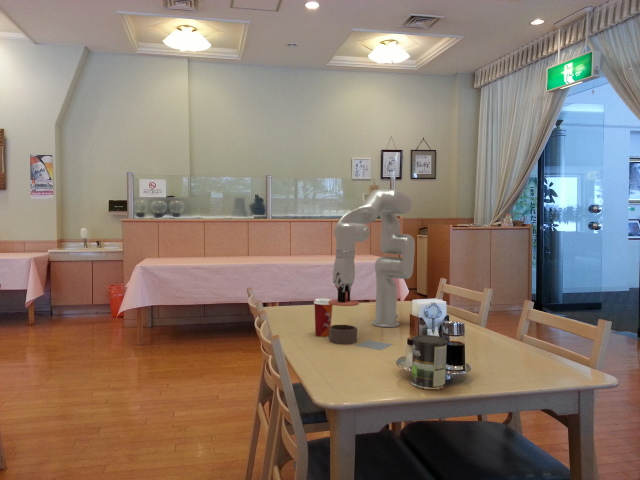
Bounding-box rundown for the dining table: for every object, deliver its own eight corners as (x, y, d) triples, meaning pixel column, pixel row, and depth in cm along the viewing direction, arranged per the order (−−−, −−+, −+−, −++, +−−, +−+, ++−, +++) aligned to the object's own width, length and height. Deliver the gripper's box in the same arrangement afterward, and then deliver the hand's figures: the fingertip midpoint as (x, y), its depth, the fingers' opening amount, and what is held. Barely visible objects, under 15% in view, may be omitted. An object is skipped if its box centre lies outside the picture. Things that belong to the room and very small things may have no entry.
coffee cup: (330, 338, 222) (331, 301, 221) (310, 336, 224) (311, 300, 223) (334, 333, 230) (335, 298, 229) (315, 332, 232) (316, 297, 231)
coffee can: (416, 390, 159) (417, 342, 158) (407, 379, 169) (409, 334, 169) (450, 390, 160) (452, 343, 159) (439, 379, 170) (441, 335, 170)
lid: (338, 300, 222) (338, 288, 222) (364, 303, 216) (364, 291, 216) (322, 303, 212) (323, 291, 212) (349, 307, 206) (350, 294, 206)
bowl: (337, 338, 222) (338, 323, 222) (360, 341, 217) (360, 327, 216) (324, 342, 213) (325, 327, 213) (347, 347, 208) (348, 331, 208)
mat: (368, 341, 217) (368, 340, 217) (393, 345, 212) (393, 344, 212) (355, 347, 208) (355, 345, 208) (381, 351, 202) (381, 350, 202)
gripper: (346, 253, 222) (345, 297, 223) (326, 255, 208) (324, 302, 209) (363, 254, 218) (361, 299, 219) (343, 256, 204) (341, 305, 205)
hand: (343, 300), depth 214 cm, fingers closed on lid, 3 cm apart
